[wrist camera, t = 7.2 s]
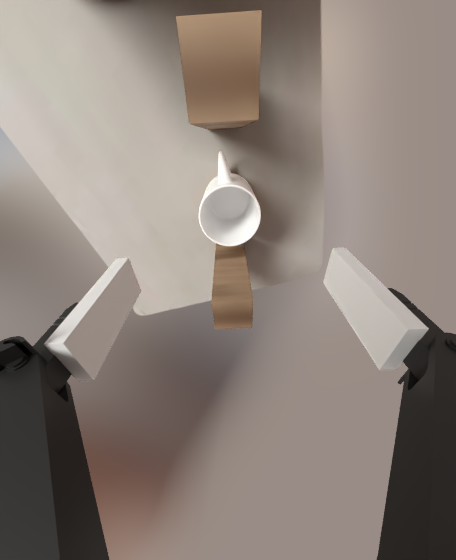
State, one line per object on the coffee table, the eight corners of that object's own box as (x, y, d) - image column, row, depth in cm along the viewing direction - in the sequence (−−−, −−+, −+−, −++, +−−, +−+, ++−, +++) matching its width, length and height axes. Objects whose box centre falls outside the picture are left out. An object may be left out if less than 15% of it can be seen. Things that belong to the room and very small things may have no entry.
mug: (248, 143, 32) (257, 147, 24) (254, 218, 39) (262, 242, 30) (195, 153, 33) (184, 159, 24) (210, 224, 40) (205, 250, 31)
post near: (204, 84, 28) (175, 16, 12) (240, 81, 28) (261, 10, 12) (208, 129, 31) (189, 123, 15) (241, 127, 31) (258, 119, 15)
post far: (216, 234, 41) (211, 301, 25) (242, 233, 41) (253, 299, 25) (218, 256, 44) (214, 329, 28) (242, 255, 44) (252, 327, 27)
